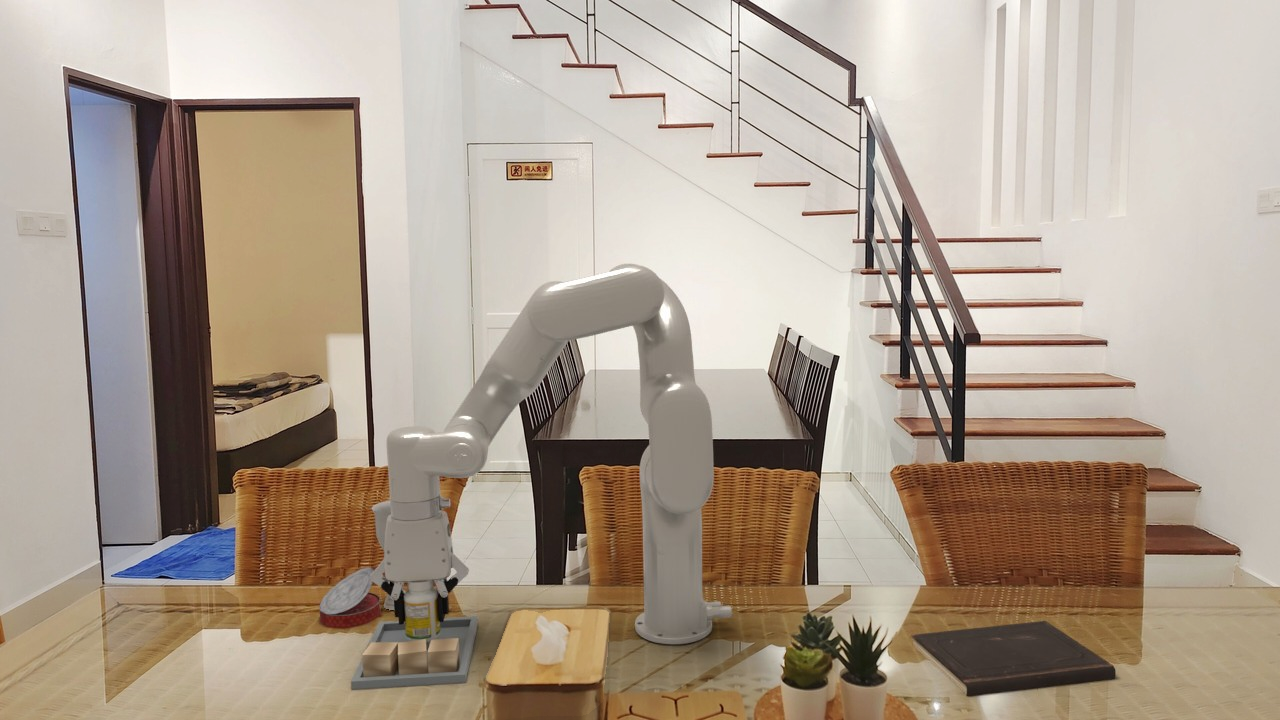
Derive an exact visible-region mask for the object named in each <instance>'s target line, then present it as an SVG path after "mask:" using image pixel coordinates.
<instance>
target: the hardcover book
mask: <svg viewBox="0 0 1280 720" xmlns="http://www.w3.org/2000/svg"><path fill="white" fill-rule="evenodd" d="M911 638H912V639H913V642H912V644H913V647H914V648H915V649H916V650H917V651H918V652H919V653H921V654H922V655H923V656H924V657H925V658H926V659H927V660H928V661H929V662H930V663H931V664H933V666H935V667H936V668H937V669H938V670H939V671H941V673H942V674H943V675H945V677H947V678H948V679H949V680H950V681H951V682H952V683H953V684H954V685H956V686H957V687H958V688H959V689H960V690H961V691H962V692H963V693H965V696H966V697H973V696H981V695H988V694H989V695H990V694H998V693H1007V692H1014V691H1023V690H1024V691H1025V690H1032V689H1041V688H1048V687H1049V688H1051V687H1057V686H1067V685H1074V684H1083V683H1090V682H1091V683H1092V682H1099V681H1108V680H1115V679H1116V676H1117V675H1116V674H1117V673H1116V671H1117V670H1116V668H1115V666H1114V665H1113V664H1112V663H1110V662H1109V661H1107V660H1106V659H1104V658H1103V657H1101V656H1100V655H1099V654H1097V653H1095V652H1093V651H1092V650H1090V649H1089V648H1088V647H1086V646H1084V644H1081V643H1079V642H1078V641H1077V640H1075V639H1073V638H1072V637H1070V636H1069V634H1068V635H1067V634H1066V633H1065V632H1063V631H1061V630H1060V629H1058V628H1057V627H1055V626H1054V625H1053V624H1051V623H1049V622H1048V621H1046V620H1041V621H1031V622H1020V623H1011V624H1003V625H1001V624H1000V625H991V626H983V627H973V628H963V629H956V630H946V631H945V630H944V631H935V632H926V633H917V634H911Z"/></svg>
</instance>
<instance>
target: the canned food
mask: <svg viewBox="0 0 1280 720" xmlns="http://www.w3.org/2000/svg"><path fill="white" fill-rule="evenodd" d="M374 571H375V569H373V568H372V567H369V566H366V567H365V568H360V569H358V570H357V571H355V572H353V573H350V574H349V575H348V576H345V578H343V579H342V580H340V581H339V582H338V583H336V584H335V585H334V586H332V587H331V588H329V590H328V592H327V593H326V594H325V595H324V596H323V597H322V600H321V602H320V604H319V607H318V608H319V620H320V623H321V625H323V626H324V627H325V626H326V627H329V628H334V629H344V628H345V629H347V628H353V627H354V628H355V627H359V626H362V625H366V624H369V623H370V622H373V621H375V620H376V619H377V618H381V617H382V616H381V615H382V614H381V613H382V611H381V597H380V596H379V595H378V594H376V593H373V592H370V590H371V587H372V585H373V581H371V580H370V576H371V575H372V573H373V572H374Z"/></svg>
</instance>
